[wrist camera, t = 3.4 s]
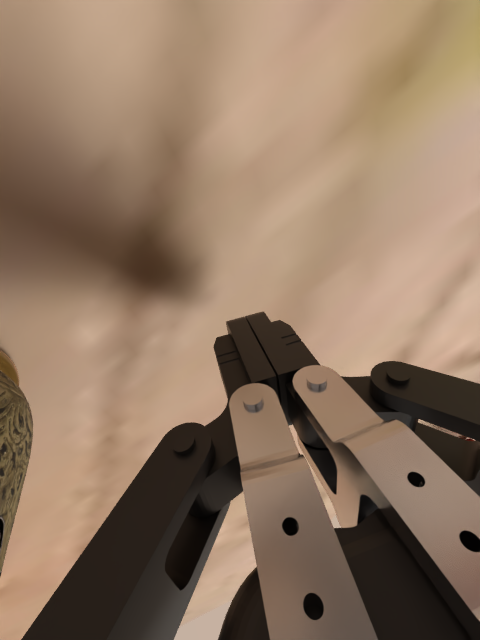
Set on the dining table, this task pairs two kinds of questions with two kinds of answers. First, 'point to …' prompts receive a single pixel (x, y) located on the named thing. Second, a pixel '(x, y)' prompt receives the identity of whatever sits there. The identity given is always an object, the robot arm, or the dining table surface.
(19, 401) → the cup
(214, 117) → the dining table surface
